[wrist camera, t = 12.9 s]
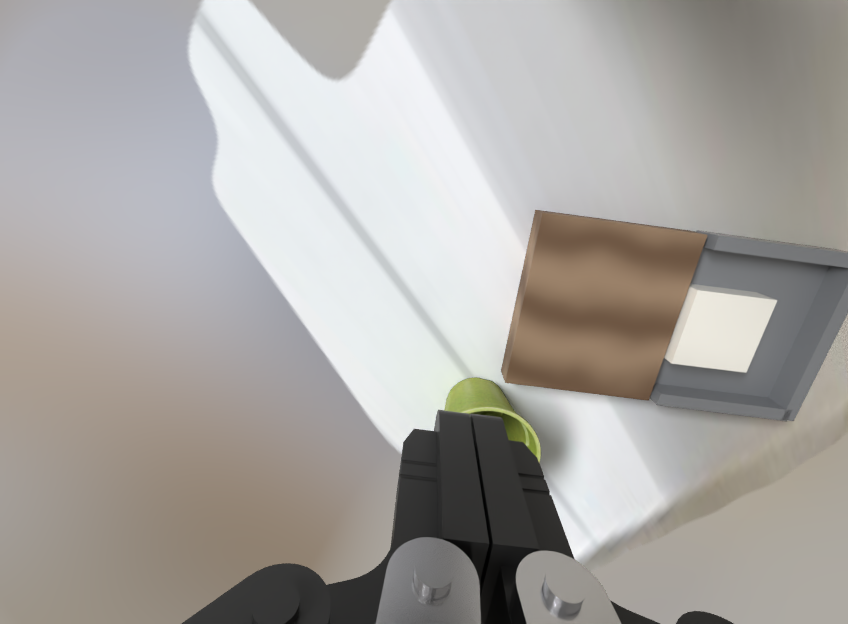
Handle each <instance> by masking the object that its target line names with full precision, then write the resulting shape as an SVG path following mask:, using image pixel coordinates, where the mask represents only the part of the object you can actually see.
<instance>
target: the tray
mask: <svg viewBox="0 0 848 624" xmlns="http://www.w3.org/2000/svg"><path fill="white" fill-rule="evenodd" d="M693 232H695V231H693ZM696 232H697V233H702V234H706V235H707V238H706V241H705V244H704V246H703V249H702V252H701V255H700V258H699V260H698V263H697V266H696V269H695V272H694V274H693V277H692V280H691V283H690V284H696V285H704V286H712V287H720V288H728V289H735V290H743V291H751V292H757V293H760V294H762V295H765V296H768V297H770V298H773V299H776V300H777V303H776V305H775V307H774V310H773V312H772V314H771V317H770V319H769V321H768V324H767V326H766V328H765V331H764V333H763V335H762V338H761V340H760V342H759V345H758V347H757V349H756V351H755V354H754V356H753V358H752V361H751V363H750V365H749V368H748V370H747V372H746V373H745V372H736V371H728V370H720V369H712V368H704V367H696V366H687V365H679V364H671V363H670V362H669V361H668V360H666V359H665V358H663V361H662V364H661V367H660V370H659V372H658V375H657V378H656V381H655V384H654V386H653V389H652V392H651V395H650V398H651V399H652V400H653V401H654V402H655V403H656V404H657V405H661V406H669V407H677V408H685V409H693V410H701V411H709V412H717V413H725V414H734V415H742V416H750V417H758V418H766V419H774V420H782V421H787V420H789V421H794V419H795V417H796V415H797V413H798V411H799V409H800V407H801V405H802V403H803V401H804V399H805V397H806V395H807V393H808V391H809V389H810V387H811V385H812V383H813V381H814V379H815V377H816V375H817V373H818V371H819V369H820V367H821V365H822V363H823V361H824V359H825V357H826V355H827V353H828V351H829V349H830V347H831V345H832V343H833V341H834V339H835V337H836V335H837V334H838V332H839V330H840V328H841V326H842V324H843V322H844V320H845V318H846V316H847V314H848V252H847V251H842V250H836V249H830V248H822V247H815V246H807V245H800V244H793V243H785V242H778V241H770V240H763V239H756V238H748V237H741V236H734V235H726V234H719V233H711V232H704V231H696Z"/></svg>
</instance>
